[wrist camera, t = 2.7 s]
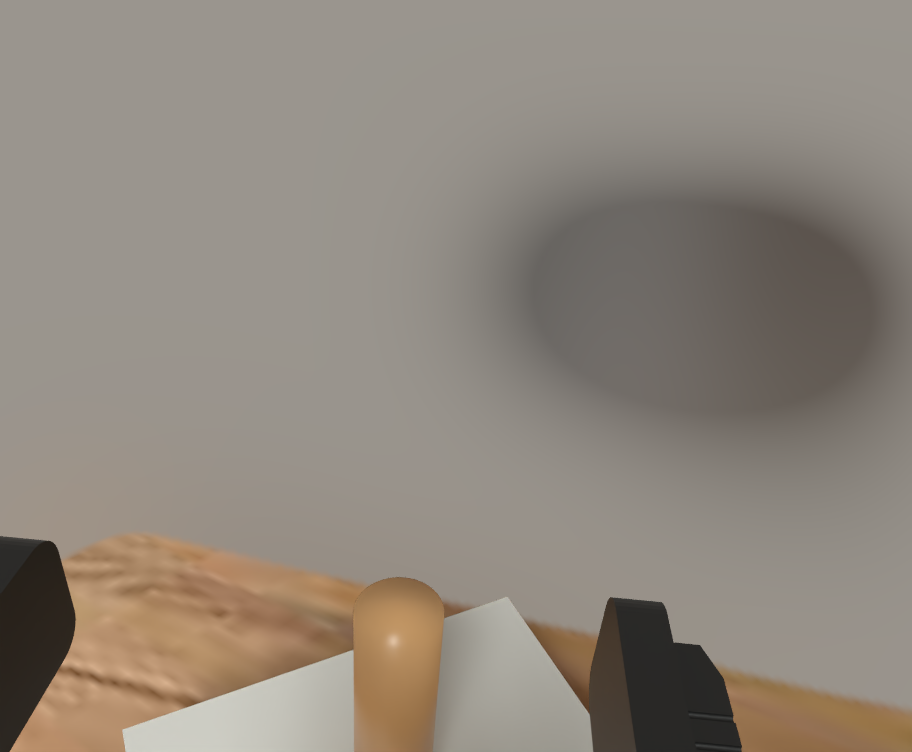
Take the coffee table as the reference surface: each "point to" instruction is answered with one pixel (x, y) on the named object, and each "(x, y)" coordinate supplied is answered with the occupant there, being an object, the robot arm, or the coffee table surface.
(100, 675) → the coffee table surface
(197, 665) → the coffee table surface
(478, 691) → the tub lid
